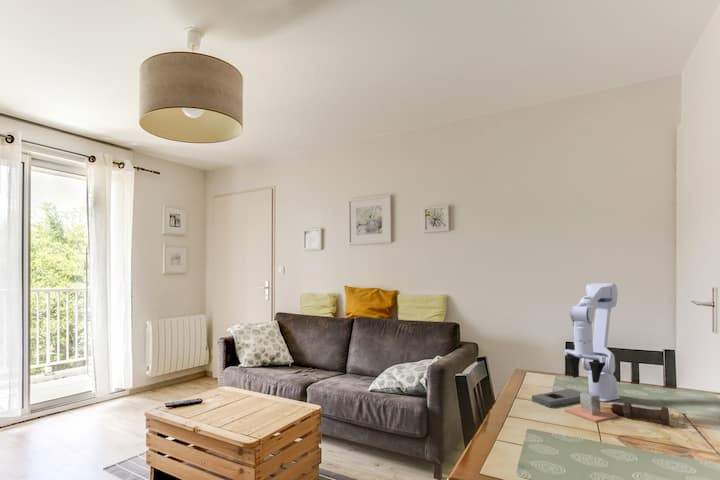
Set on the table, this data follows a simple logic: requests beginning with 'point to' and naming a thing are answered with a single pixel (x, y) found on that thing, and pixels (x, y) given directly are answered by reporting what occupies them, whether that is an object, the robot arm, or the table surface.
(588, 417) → the mat
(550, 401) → the block
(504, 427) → the table surface
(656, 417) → the bolt
